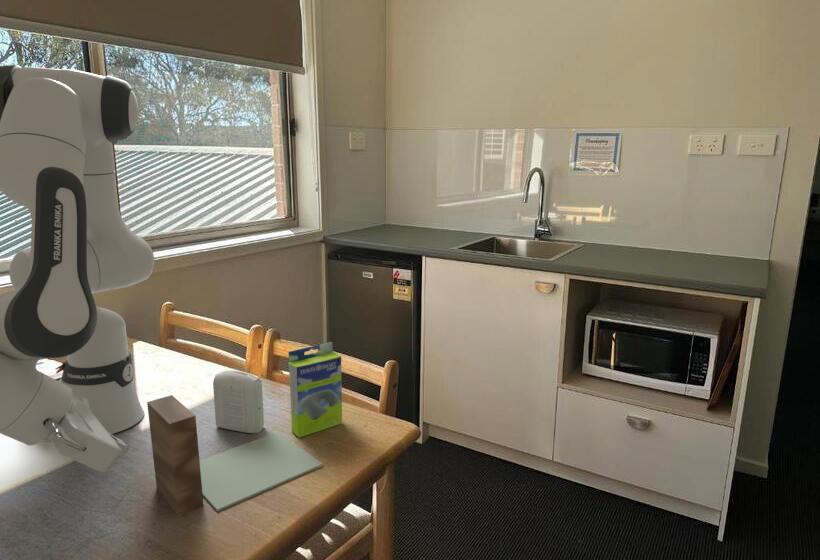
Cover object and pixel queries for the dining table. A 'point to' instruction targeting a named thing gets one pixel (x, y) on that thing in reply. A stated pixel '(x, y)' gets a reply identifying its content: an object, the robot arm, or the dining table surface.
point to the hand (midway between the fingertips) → (123, 449)
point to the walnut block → (175, 454)
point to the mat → (252, 469)
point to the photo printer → (238, 401)
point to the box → (315, 389)
